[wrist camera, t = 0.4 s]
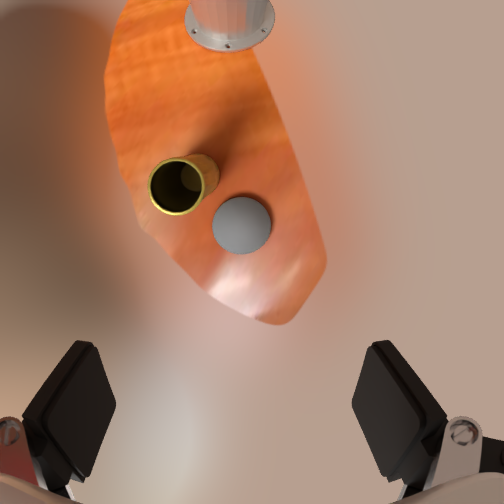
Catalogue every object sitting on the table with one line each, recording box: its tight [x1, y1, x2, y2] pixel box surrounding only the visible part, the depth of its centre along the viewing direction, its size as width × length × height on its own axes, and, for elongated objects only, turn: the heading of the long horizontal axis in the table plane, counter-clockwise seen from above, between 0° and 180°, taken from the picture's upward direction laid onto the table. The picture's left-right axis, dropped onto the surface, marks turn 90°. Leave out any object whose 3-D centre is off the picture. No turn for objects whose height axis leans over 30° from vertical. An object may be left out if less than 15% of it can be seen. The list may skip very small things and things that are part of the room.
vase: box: [148, 154, 220, 216], centre depth 30 cm, size 6×6×14 cm
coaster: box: [212, 197, 271, 254], centre depth 39 cm, size 8×8×1 cm
